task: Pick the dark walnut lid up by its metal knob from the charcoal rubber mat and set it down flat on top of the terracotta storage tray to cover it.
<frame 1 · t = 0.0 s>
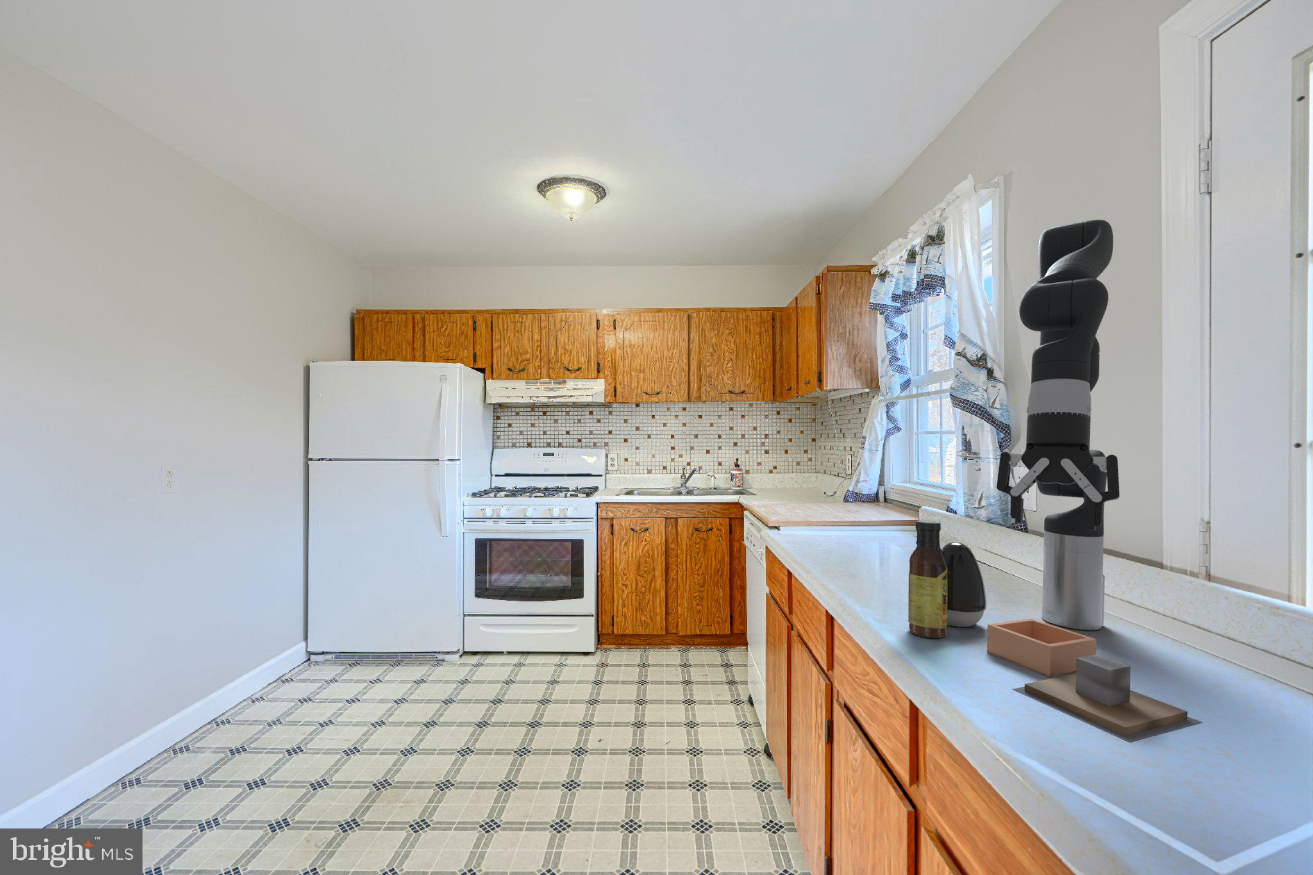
hand: (1053, 526, 80), 22 cm above the countertop, tool pointing down, fingers open, 8 cm apart
mat: (1101, 709, 73), on the countertop
terracotta storage tray: (1039, 663, 87), on the countertop
black egg-shaped device: (954, 623, 106), on the countertop
sauce bottle: (926, 634, 100), on the countertop
lid: (1102, 704, 73), point 1 cm above the countertop, touching mat
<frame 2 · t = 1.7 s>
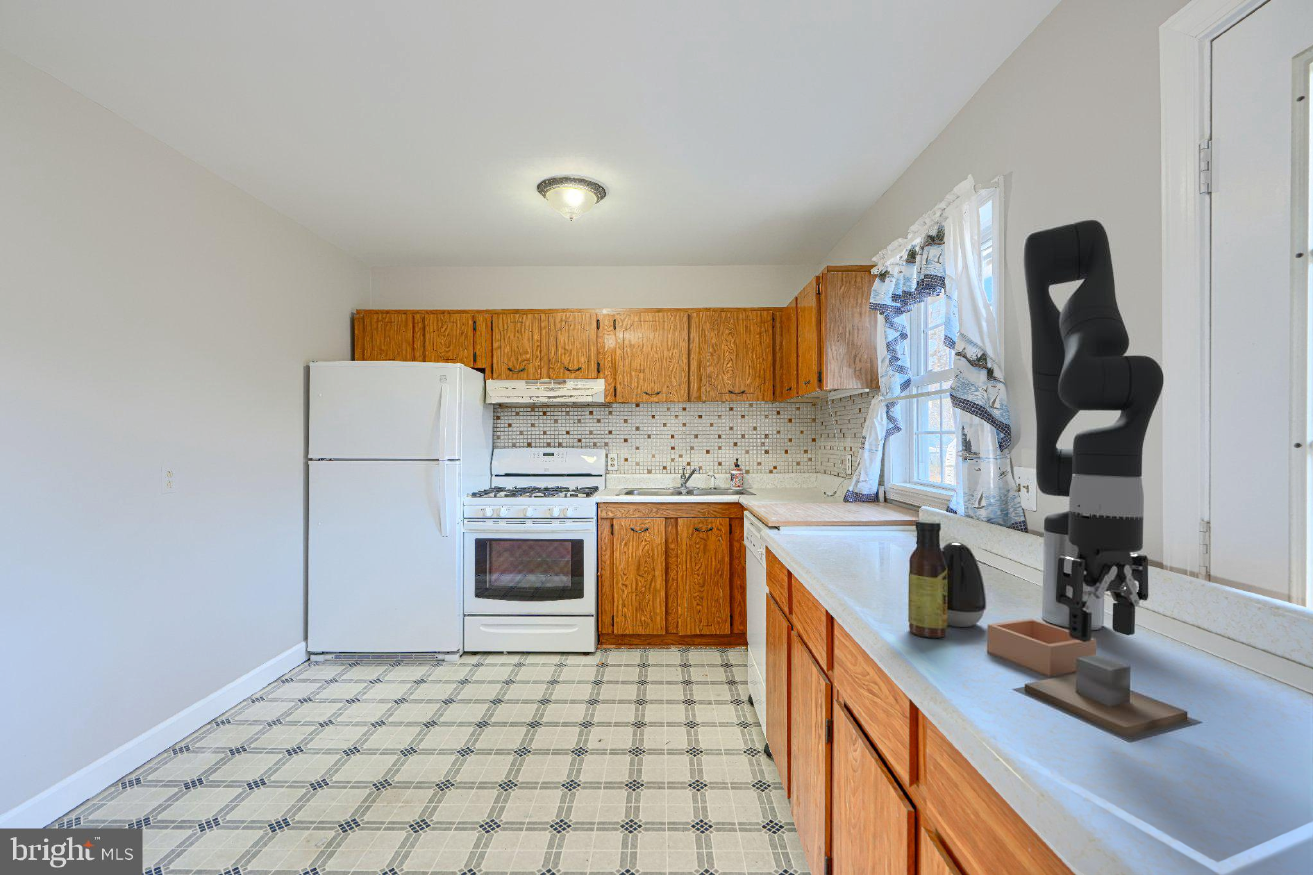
hand: (1101, 636, 72), 9 cm above the countertop, tool pointing down, fingers open, 8 cm apart
nothing on the countertop moved.
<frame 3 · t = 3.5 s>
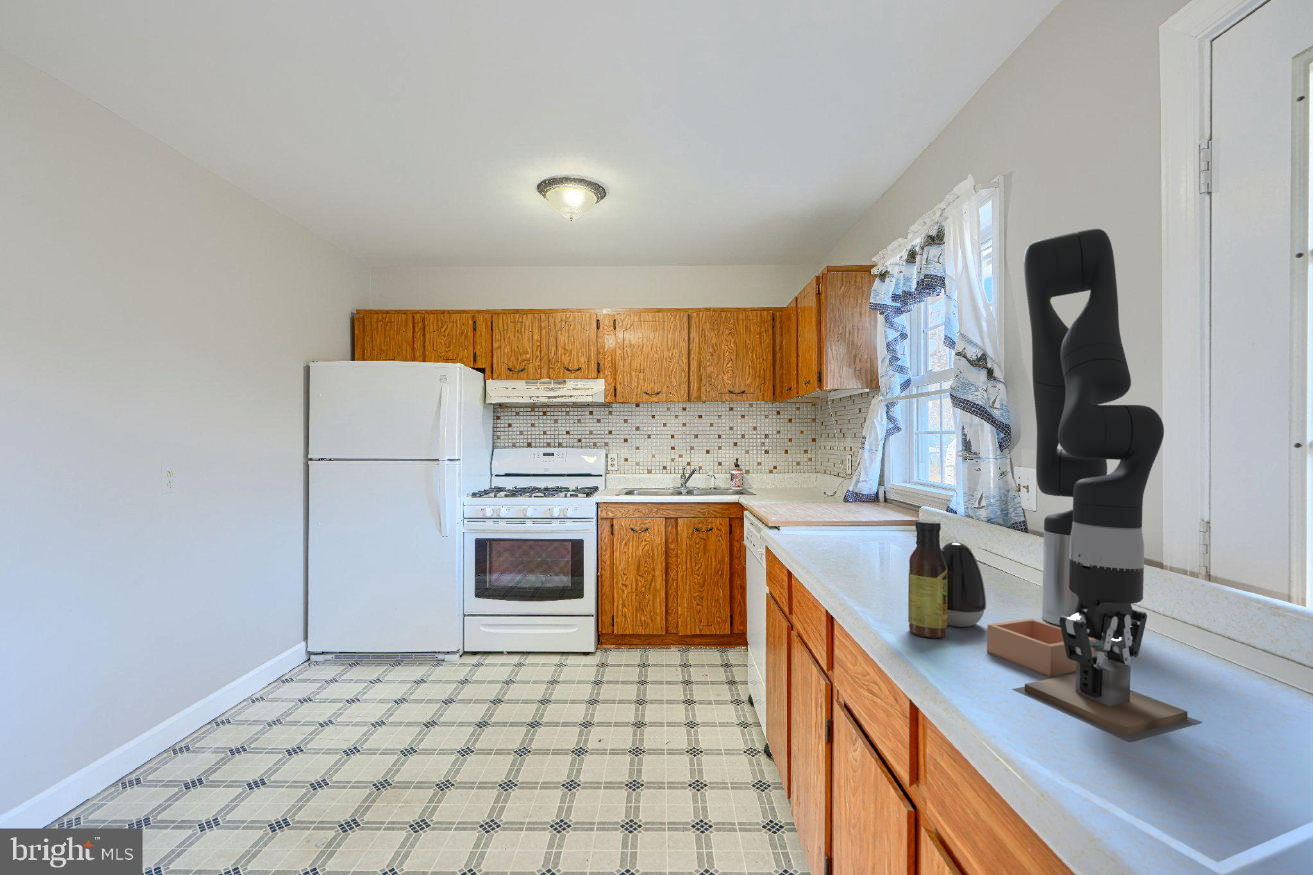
hand: (1102, 691, 73), 2 cm above the countertop, tool pointing down, fingers closed on lid, 4 cm apart
lid: (1102, 704, 73), point 1 cm above the countertop, touching gripper, mat
everything else where it was.
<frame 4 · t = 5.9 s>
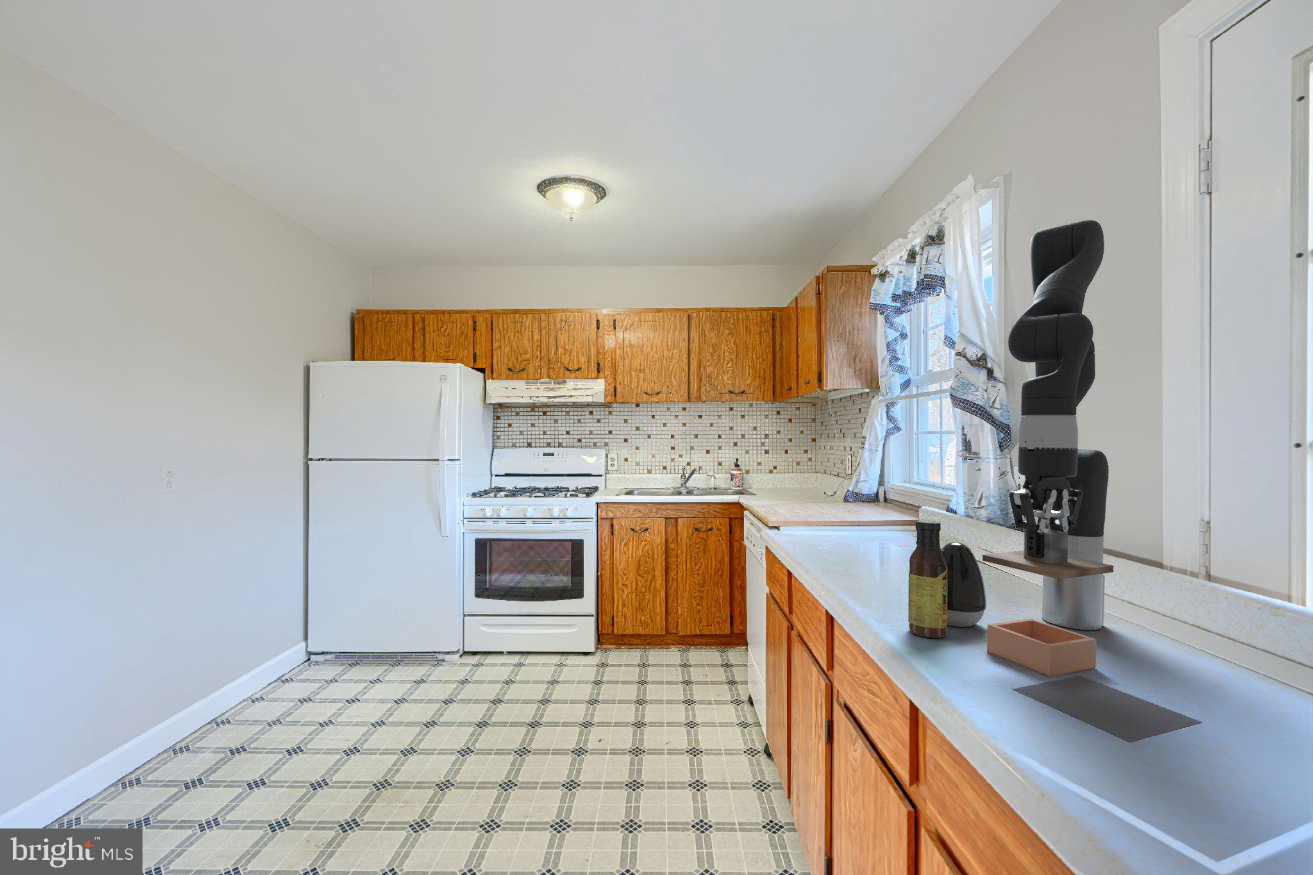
hand: (1045, 555, 87), 17 cm above the countertop, tool pointing down, fingers closed on lid, 4 cm apart
lid: (1045, 566, 87), point 15 cm above the countertop, touching gripper
everything else where it was.
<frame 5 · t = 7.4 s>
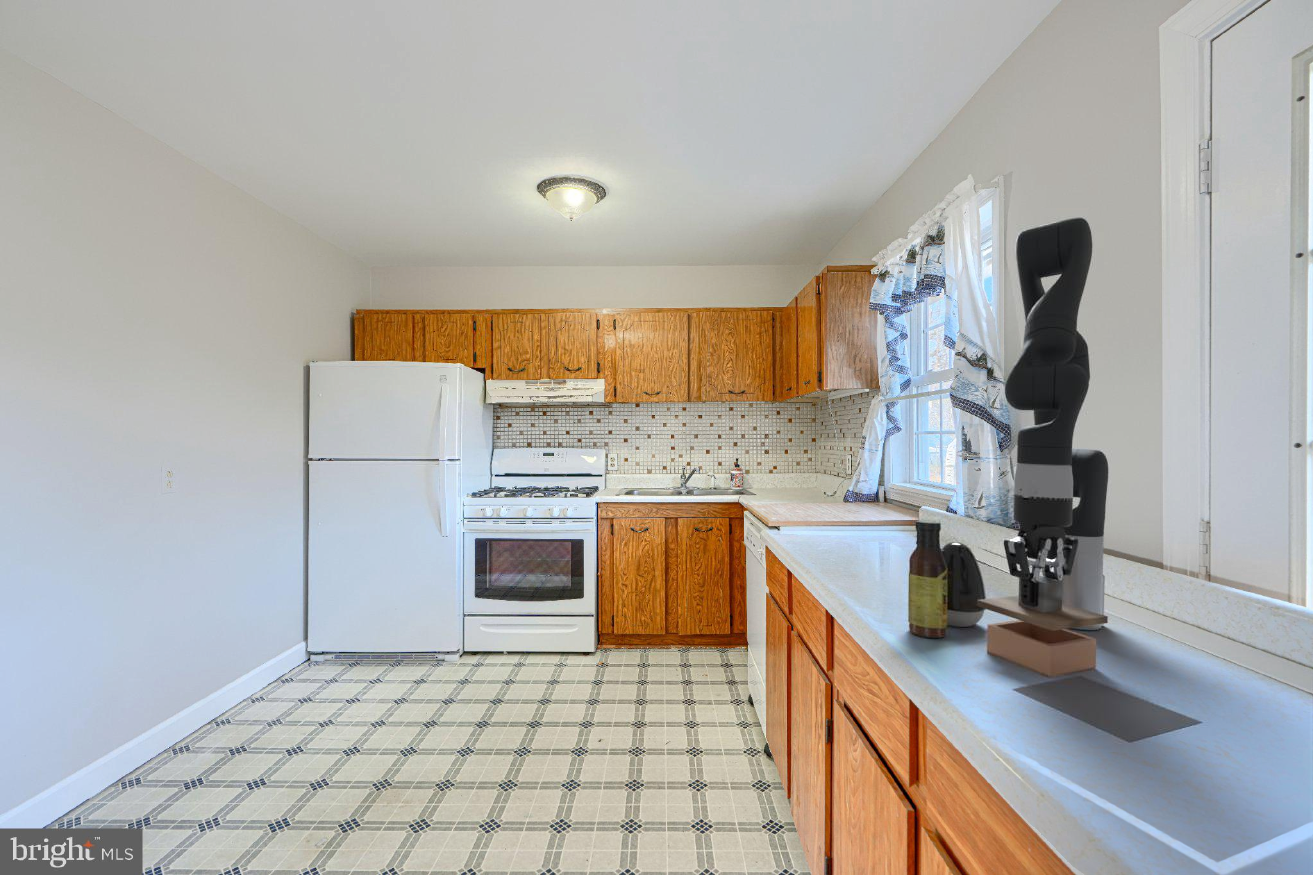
hand: (1039, 603, 87), 9 cm above the countertop, tool pointing down, fingers closed on lid, 4 cm apart
lid: (1039, 614, 87), point 8 cm above the countertop, touching gripper
everything else where it was.
when the fingers open (8 cm above the countertop, at t = 8.5 s): lid drops 1 cm, resting on terracotta storage tray.
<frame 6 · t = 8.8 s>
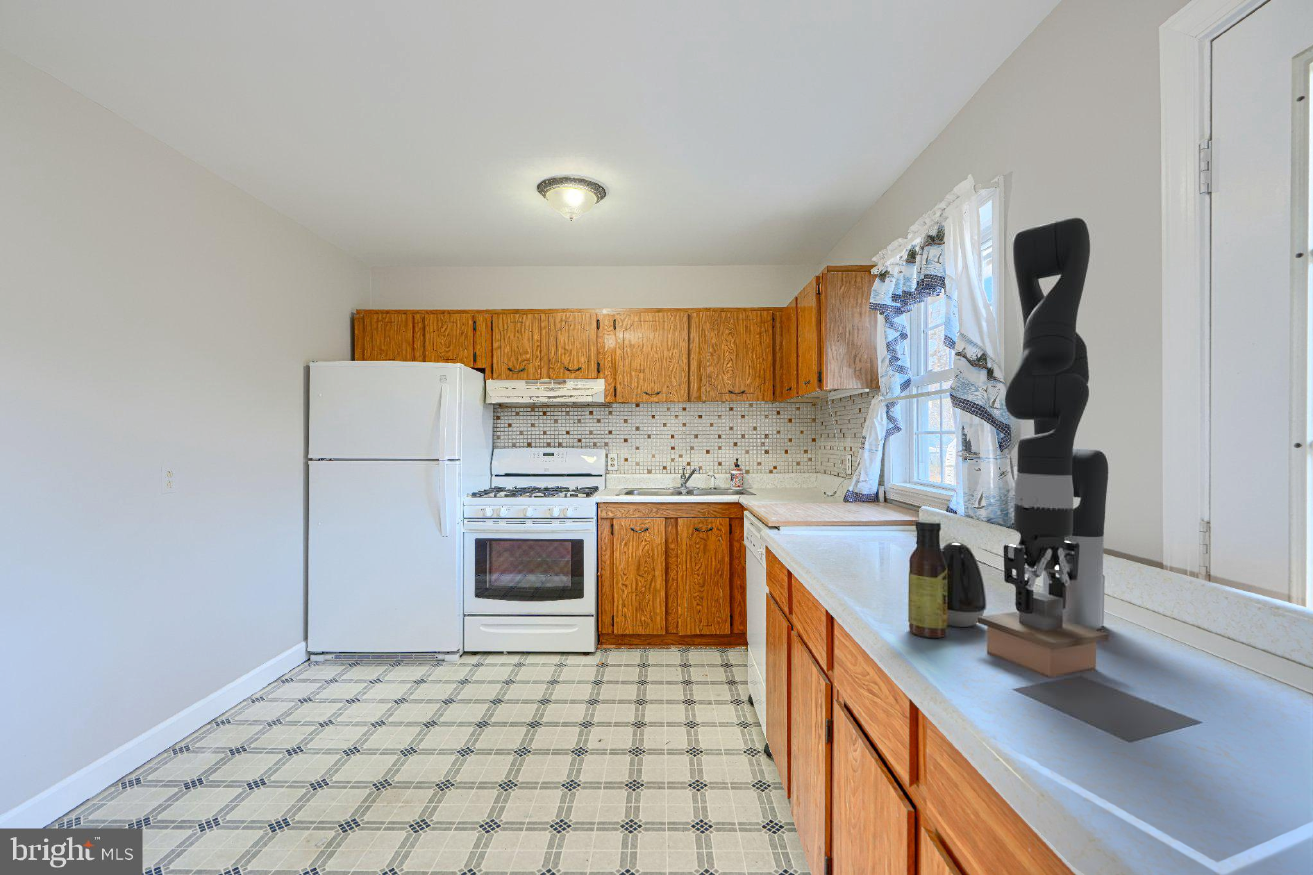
hand: (1040, 609, 87), 8 cm above the countertop, tool pointing down, fingers open, 6 cm apart
lid: (1040, 631, 87), point 5 cm above the countertop, touching terracotta storage tray
everything else where it was.
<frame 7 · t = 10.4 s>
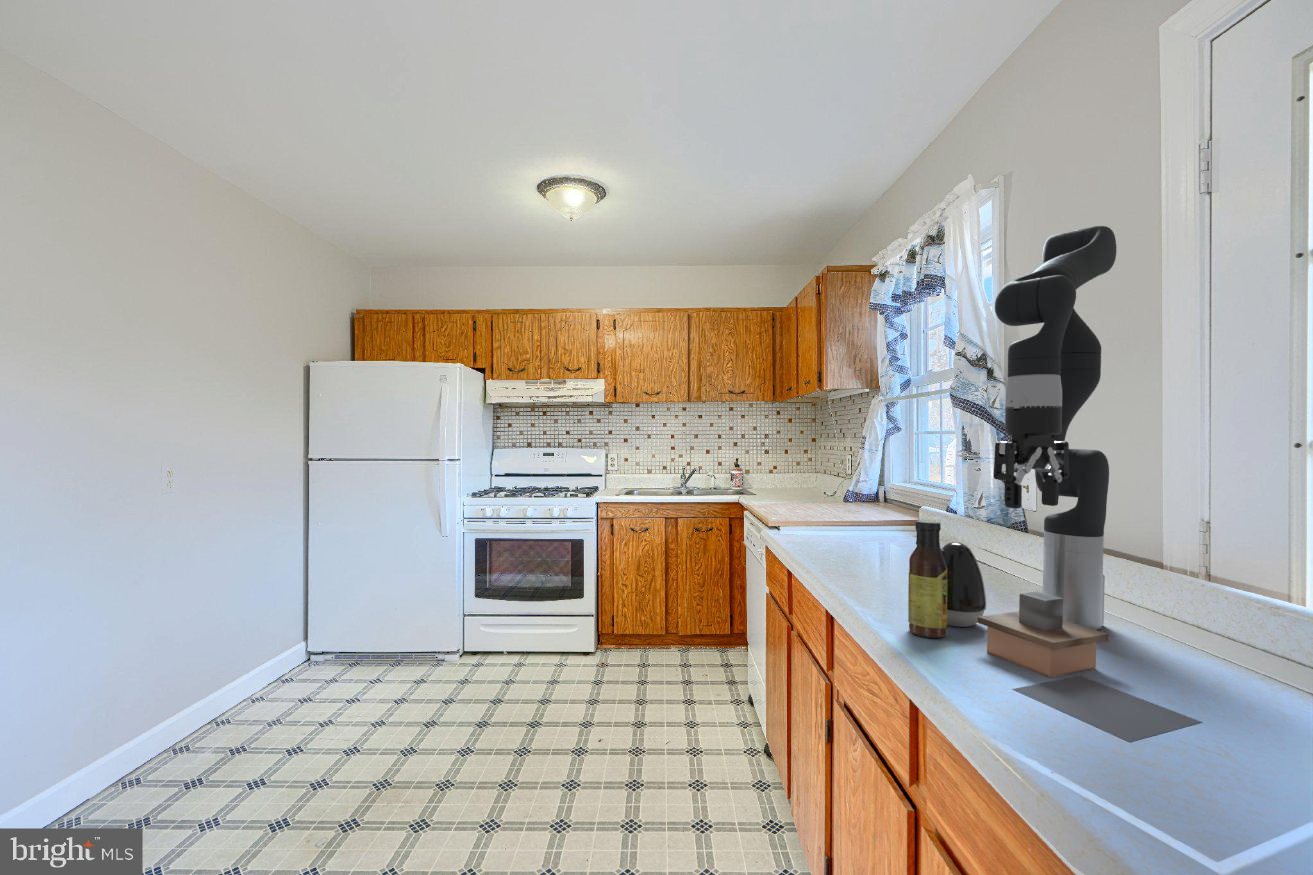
hand: (1031, 506, 90), 24 cm above the countertop, tool pointing down, fingers open, 8 cm apart
nothing on the countertop moved.
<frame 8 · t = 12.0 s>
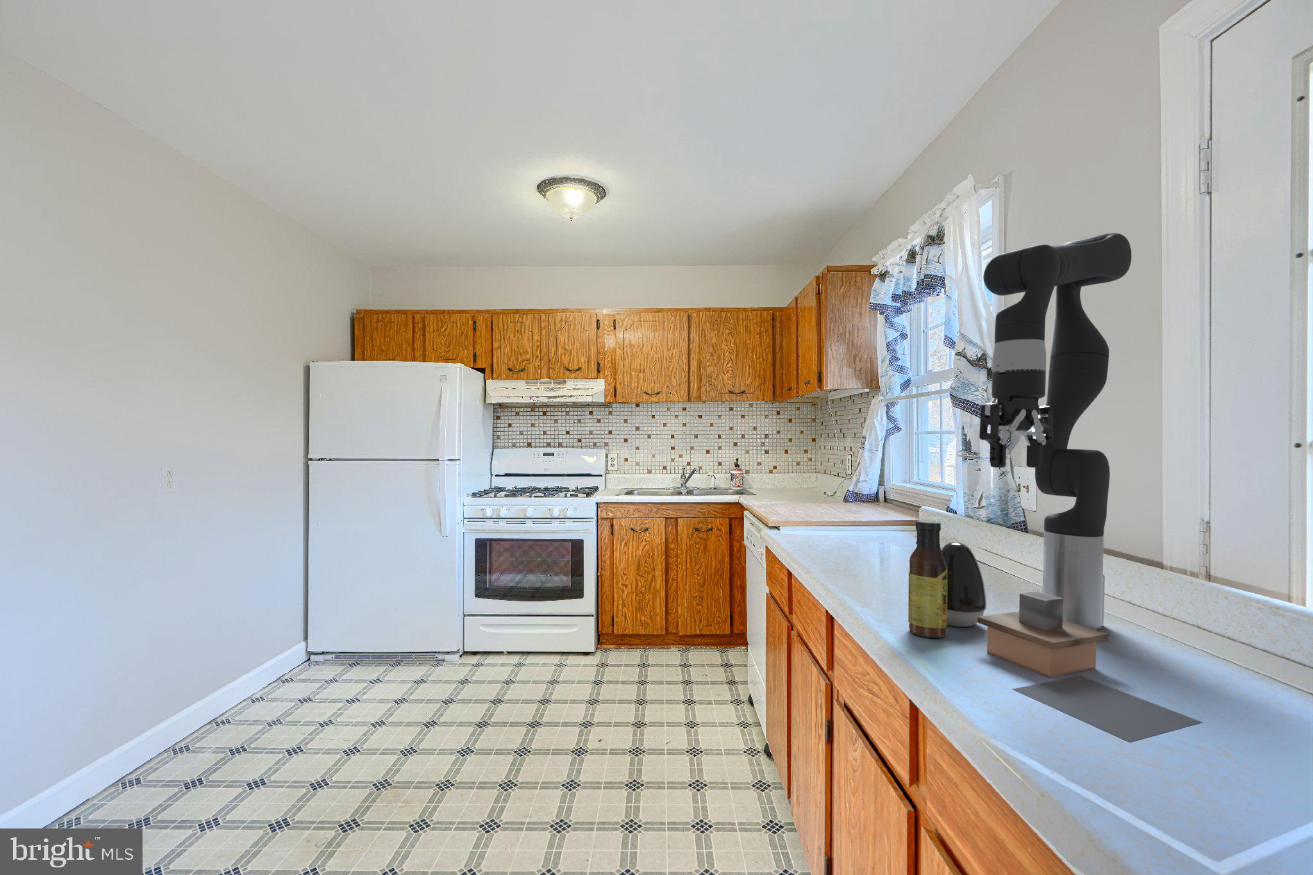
hand: (1016, 467, 93), 30 cm above the countertop, tool pointing down, fingers open, 8 cm apart
nothing on the countertop moved.
at the end: lid 0.1 cm off-centre on the terracotta storage tray, point 5.0 cm above the terracotta storage tray's base; lid tilted 0°; the gripper is holding nothing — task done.
